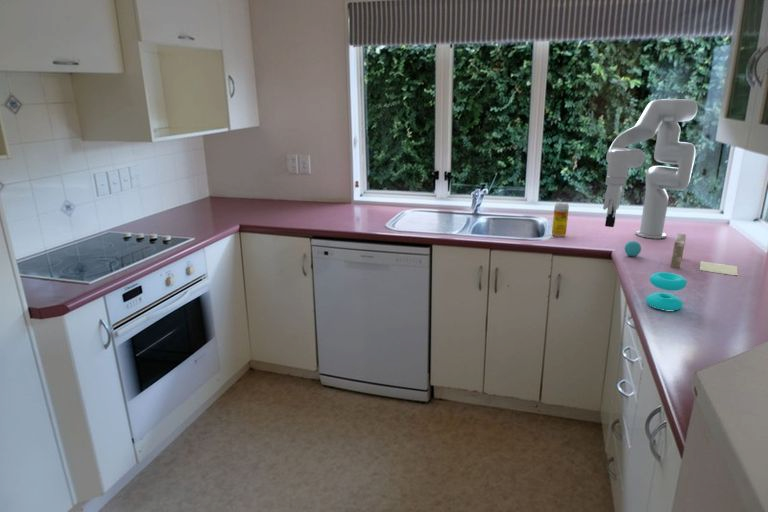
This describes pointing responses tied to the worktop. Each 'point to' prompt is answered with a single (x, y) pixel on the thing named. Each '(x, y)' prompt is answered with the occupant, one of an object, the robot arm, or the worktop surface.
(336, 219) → the worktop surface
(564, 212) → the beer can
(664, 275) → the donuts
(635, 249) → the ball
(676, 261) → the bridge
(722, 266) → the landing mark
